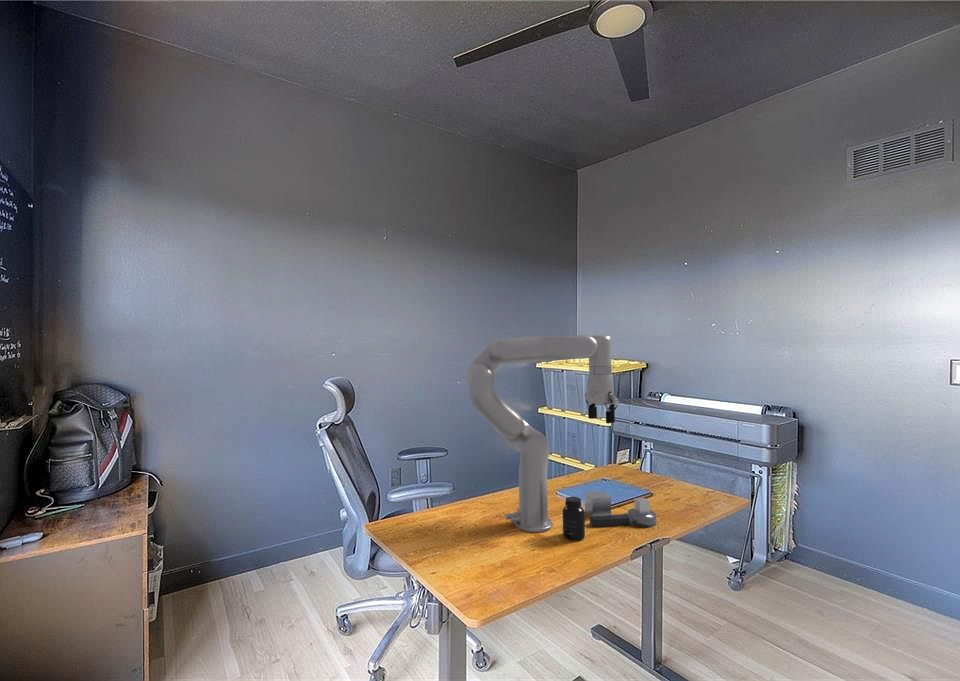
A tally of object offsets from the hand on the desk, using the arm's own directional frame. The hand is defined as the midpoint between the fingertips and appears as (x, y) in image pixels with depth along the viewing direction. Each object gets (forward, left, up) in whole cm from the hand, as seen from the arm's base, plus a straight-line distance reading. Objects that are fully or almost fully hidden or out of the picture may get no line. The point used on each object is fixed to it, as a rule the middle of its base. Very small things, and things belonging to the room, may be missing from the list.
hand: (601, 420), depth 158 cm
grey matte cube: (0, +4, -34) cm, 34 cm away
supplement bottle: (-15, -12, -34) cm, 39 cm away
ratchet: (+6, -5, -34) cm, 35 cm away
